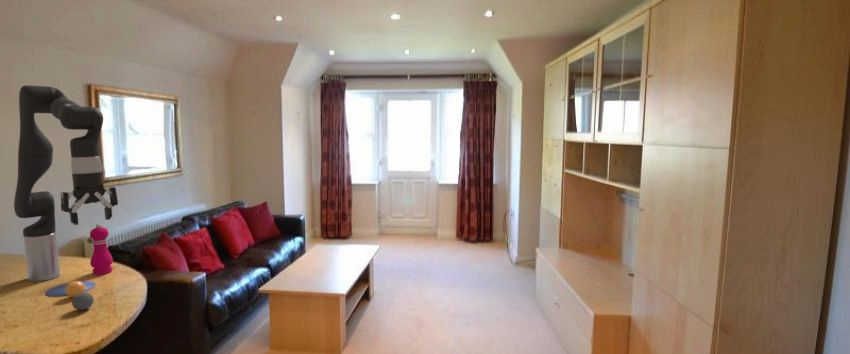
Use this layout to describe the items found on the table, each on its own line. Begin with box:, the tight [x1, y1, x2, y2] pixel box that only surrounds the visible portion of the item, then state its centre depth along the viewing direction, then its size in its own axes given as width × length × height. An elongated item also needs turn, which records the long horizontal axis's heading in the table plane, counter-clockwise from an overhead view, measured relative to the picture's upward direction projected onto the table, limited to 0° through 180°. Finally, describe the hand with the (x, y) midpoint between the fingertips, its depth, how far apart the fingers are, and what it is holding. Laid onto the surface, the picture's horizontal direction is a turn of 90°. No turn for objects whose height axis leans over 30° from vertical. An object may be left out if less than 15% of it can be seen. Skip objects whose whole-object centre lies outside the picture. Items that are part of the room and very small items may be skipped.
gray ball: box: [71, 292, 95, 311], centre depth 140 cm, size 6×6×6 cm
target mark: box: [45, 280, 96, 298], centre depth 157 cm, size 14×14×1 cm
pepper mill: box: [89, 223, 114, 276], centre depth 172 cm, size 7×7×20 cm
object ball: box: [65, 280, 86, 299], centre depth 150 cm, size 6×6×6 cm
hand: (92, 221), depth 138 cm, fingers open, 8 cm apart
